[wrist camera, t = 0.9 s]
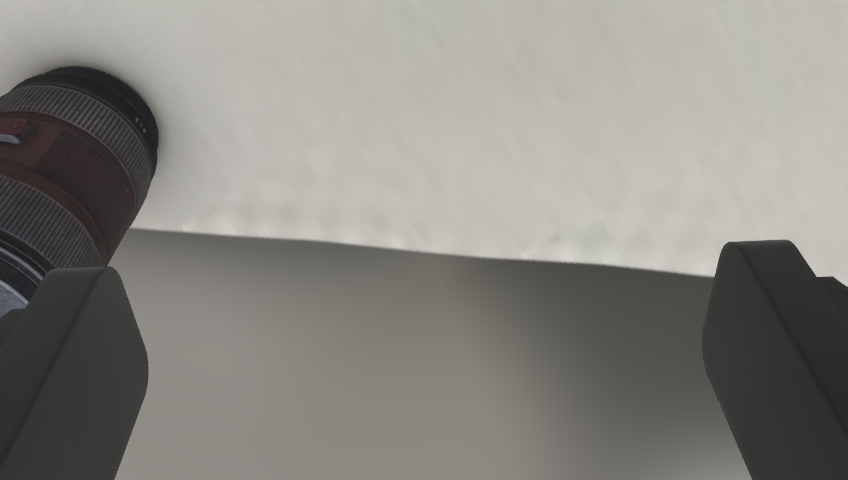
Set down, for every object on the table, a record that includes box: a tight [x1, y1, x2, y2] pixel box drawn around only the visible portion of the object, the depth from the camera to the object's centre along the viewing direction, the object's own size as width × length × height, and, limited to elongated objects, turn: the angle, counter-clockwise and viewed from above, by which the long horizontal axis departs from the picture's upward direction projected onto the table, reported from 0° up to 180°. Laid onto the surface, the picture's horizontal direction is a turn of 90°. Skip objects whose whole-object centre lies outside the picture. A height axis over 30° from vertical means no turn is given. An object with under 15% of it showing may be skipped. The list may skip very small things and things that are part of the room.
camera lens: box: [0, 66, 158, 318], centre depth 34 cm, size 8×8×15 cm
